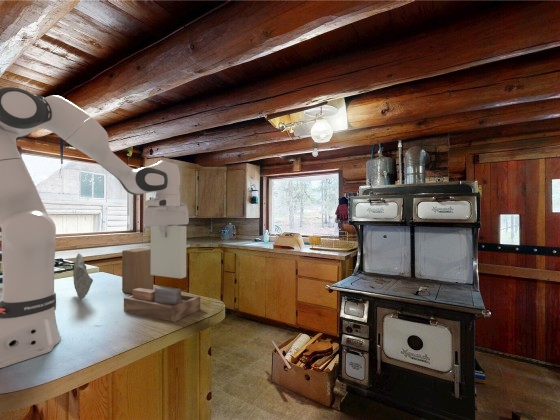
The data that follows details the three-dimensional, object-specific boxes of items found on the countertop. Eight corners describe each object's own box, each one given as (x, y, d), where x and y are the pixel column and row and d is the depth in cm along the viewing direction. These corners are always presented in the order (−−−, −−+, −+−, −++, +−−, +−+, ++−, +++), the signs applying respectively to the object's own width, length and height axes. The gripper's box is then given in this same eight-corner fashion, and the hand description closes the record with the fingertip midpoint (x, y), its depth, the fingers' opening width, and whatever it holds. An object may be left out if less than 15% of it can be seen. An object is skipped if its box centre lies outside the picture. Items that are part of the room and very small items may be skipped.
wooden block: (121, 292, 134) (121, 250, 134) (140, 286, 143) (140, 247, 143) (135, 294, 129) (135, 251, 129) (153, 289, 138) (153, 249, 138)
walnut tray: (174, 321, 98) (174, 307, 98) (123, 311, 108) (123, 298, 108) (200, 309, 110) (200, 296, 110) (152, 300, 121) (152, 289, 121)
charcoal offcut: (175, 318, 100) (175, 291, 101) (154, 314, 105) (154, 287, 105) (181, 315, 103) (181, 288, 103) (161, 312, 107) (161, 286, 107)
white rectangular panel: (180, 278, 107) (180, 226, 107) (150, 274, 114) (150, 225, 114) (186, 276, 110) (186, 226, 110) (156, 273, 116) (156, 225, 117)
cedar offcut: (150, 313, 105) (151, 292, 105) (132, 310, 109) (132, 289, 109) (157, 311, 108) (157, 290, 108) (139, 307, 112) (139, 287, 112)
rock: (94, 305, 114) (94, 256, 114) (75, 309, 110) (75, 258, 110) (84, 291, 134) (84, 250, 134) (68, 294, 130) (67, 251, 130)
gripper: (181, 203, 123) (181, 234, 123) (141, 201, 104) (141, 238, 104) (192, 202, 120) (192, 235, 120) (153, 201, 101) (153, 239, 101)
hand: (168, 236), depth 112 cm, fingers closed on white rectangular panel, 3 cm apart
